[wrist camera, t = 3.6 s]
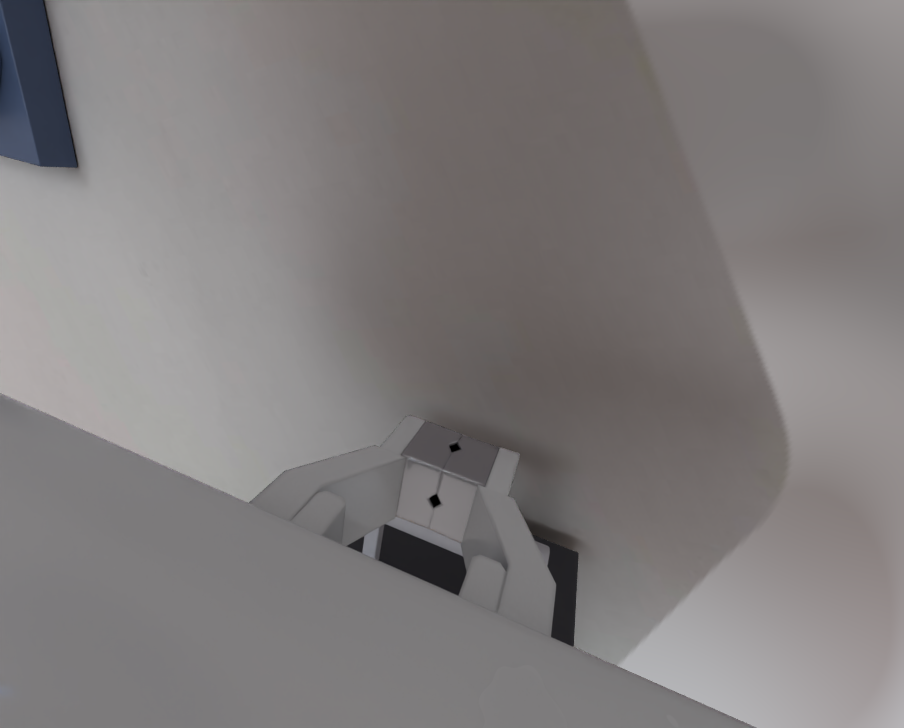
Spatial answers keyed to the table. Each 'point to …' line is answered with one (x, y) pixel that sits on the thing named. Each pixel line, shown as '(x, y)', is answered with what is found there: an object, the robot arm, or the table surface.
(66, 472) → the robot arm
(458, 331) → the table surface
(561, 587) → the drawer
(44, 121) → the control block
